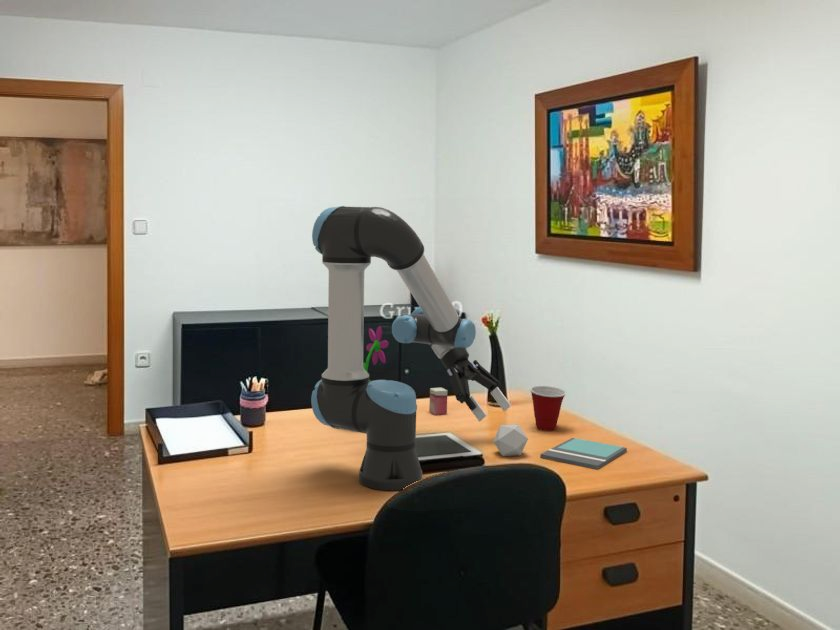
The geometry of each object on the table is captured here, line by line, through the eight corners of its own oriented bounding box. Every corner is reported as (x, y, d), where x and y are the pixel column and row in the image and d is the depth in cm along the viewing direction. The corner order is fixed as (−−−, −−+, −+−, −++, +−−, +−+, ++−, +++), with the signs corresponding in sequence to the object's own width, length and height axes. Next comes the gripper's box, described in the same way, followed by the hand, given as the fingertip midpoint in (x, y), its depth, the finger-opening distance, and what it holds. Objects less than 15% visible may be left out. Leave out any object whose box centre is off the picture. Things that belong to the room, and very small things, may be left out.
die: (521, 463, 211) (536, 430, 214) (492, 446, 210) (509, 414, 213) (511, 465, 219) (527, 433, 221) (484, 449, 218) (500, 418, 221)
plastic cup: (549, 435, 235) (550, 395, 234) (521, 427, 244) (522, 388, 242) (572, 429, 243) (574, 390, 241) (544, 422, 251) (545, 384, 249)
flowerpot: (398, 427, 242) (399, 327, 238) (356, 433, 234) (357, 331, 230) (373, 416, 253) (374, 322, 250) (332, 422, 245) (333, 324, 242)
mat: (597, 469, 204) (597, 465, 204) (540, 457, 213) (540, 453, 213) (626, 451, 221) (626, 447, 220) (572, 441, 230) (572, 437, 230)
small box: (428, 411, 261) (429, 387, 260) (441, 410, 263) (441, 387, 262) (434, 415, 256) (435, 391, 255) (447, 414, 258) (447, 390, 257)
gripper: (465, 354, 238) (508, 412, 232) (417, 367, 218) (463, 431, 211) (481, 338, 235) (526, 396, 228) (434, 350, 214) (481, 414, 208)
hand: (495, 413), depth 220 cm, fingers open, 13 cm apart
